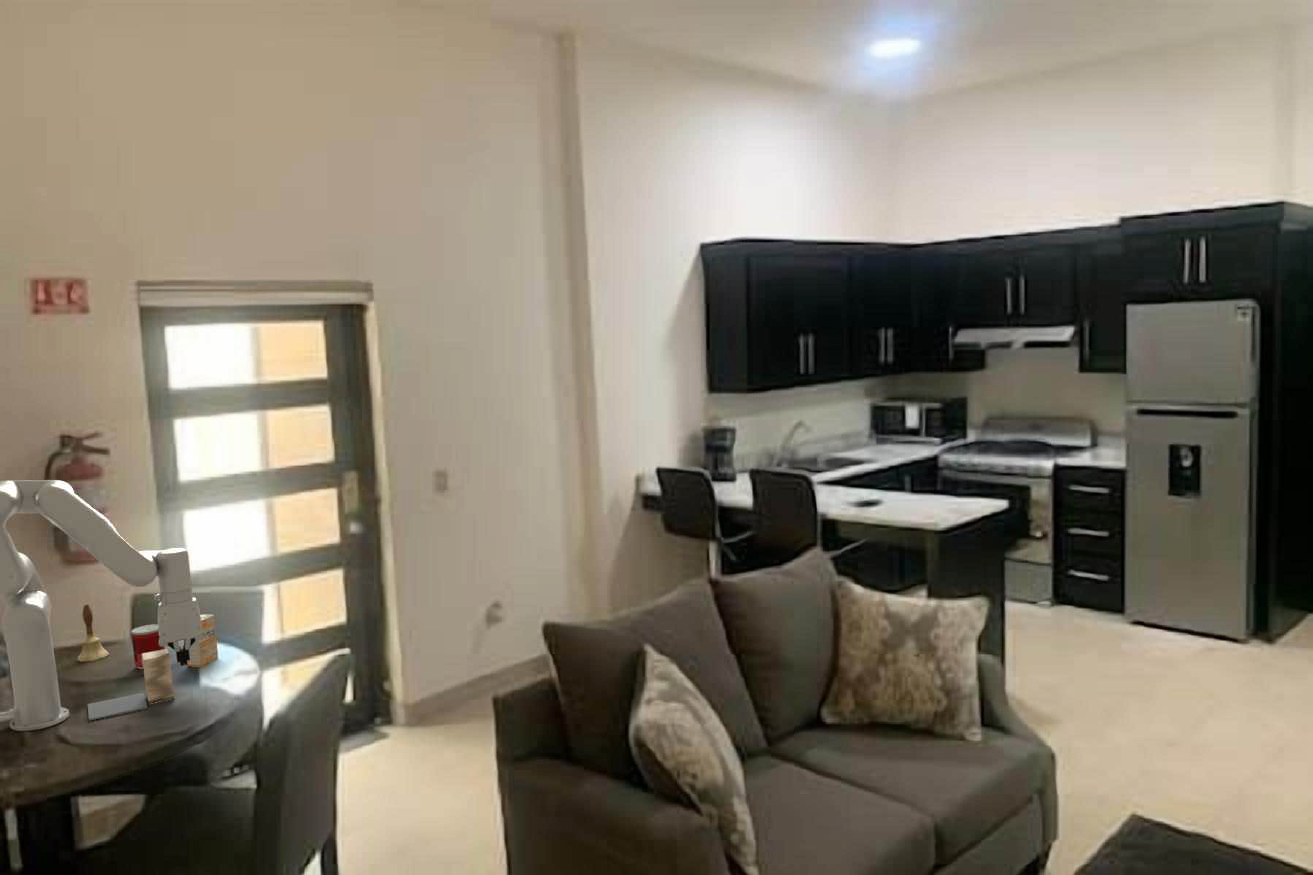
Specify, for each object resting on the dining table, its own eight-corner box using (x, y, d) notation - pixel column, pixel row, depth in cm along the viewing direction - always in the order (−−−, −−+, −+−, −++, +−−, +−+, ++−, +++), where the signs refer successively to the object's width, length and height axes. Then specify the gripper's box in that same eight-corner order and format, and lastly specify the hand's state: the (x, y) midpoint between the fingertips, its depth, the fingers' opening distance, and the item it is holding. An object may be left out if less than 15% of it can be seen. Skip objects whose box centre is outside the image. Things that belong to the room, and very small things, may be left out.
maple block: (148, 704, 262) (143, 659, 260) (146, 697, 267) (141, 653, 265) (174, 699, 265) (169, 654, 263) (172, 692, 270) (167, 648, 268)
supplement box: (201, 667, 288) (196, 622, 287) (186, 667, 289) (181, 622, 288) (219, 657, 296) (214, 613, 295) (204, 657, 297) (199, 613, 296)
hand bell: (70, 661, 300) (63, 608, 298) (91, 651, 308) (85, 600, 306) (94, 662, 298) (88, 609, 296) (115, 652, 306) (109, 601, 304)
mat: (89, 721, 253) (88, 719, 252) (87, 706, 263) (87, 704, 263) (147, 708, 259) (147, 706, 259) (143, 694, 269) (143, 692, 269)
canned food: (171, 662, 294) (167, 626, 292) (145, 672, 287) (141, 634, 286) (156, 659, 298) (152, 622, 297) (129, 667, 291) (125, 630, 290)
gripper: (145, 604, 259) (153, 674, 261) (209, 594, 266) (216, 661, 269) (143, 598, 265) (151, 666, 268) (205, 587, 273) (212, 654, 275)
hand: (183, 663), depth 268 cm, fingers closed
